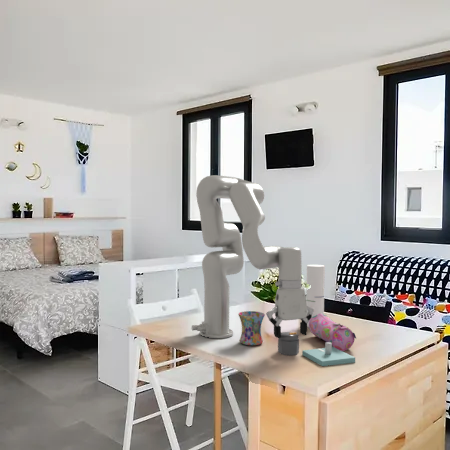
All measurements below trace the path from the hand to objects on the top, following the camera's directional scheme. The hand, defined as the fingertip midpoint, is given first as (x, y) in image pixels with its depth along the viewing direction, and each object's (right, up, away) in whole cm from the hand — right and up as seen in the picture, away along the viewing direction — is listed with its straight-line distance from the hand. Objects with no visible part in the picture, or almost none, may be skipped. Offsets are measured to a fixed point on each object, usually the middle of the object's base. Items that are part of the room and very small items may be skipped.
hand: (290, 335), depth 159 cm
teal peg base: (+11, -6, -5) cm, 14 cm away
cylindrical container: (+15, -5, +38) cm, 41 cm away
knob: (-1, -6, +1) cm, 6 cm away
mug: (-13, -5, +12) cm, 18 cm away
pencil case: (+16, -6, +13) cm, 21 cm away
